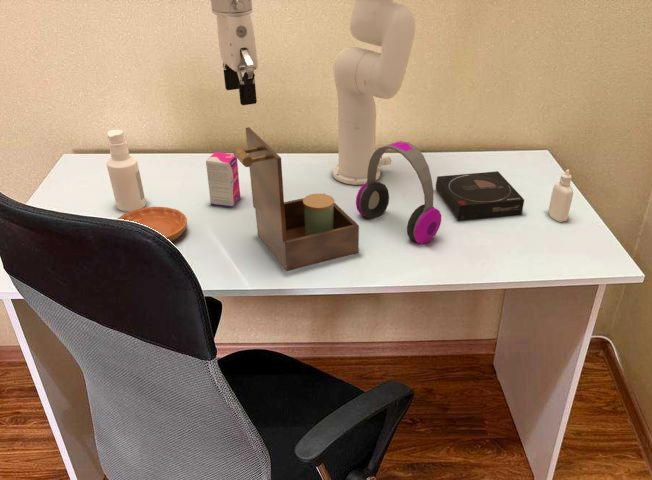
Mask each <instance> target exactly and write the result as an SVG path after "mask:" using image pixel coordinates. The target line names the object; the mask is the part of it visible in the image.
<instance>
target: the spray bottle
mask: <svg viewBox="0 0 652 480" xmlns="http://www.w3.org/2000/svg"><path fill="white" fill-rule="evenodd" d="M106 134H107V139H108V142H107V143H108V147H109V154H110V157H111V158H108V160H107V161H106V168H107V172H108V177H109V179H110V180H109V181H110V184H111V189H112V193H113V197H114V201H115V205H116V209H118V210H120V211H122V212H130V211H133V210H137V209H141V208H145V206H146V204H147V202H146V197H145V192H144V186H143V182H142V178H141V173H140V168H139V164H138V159H137V158H136V157H134V156H133V155H130V151H129V148H128V143H127V140H126V138H125V135H124V131H123V129H111V130H108V131H107V133H106Z"/></svg>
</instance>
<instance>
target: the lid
mask: <svg viewBox="0 0 652 480" xmlns="http://www.w3.org/2000/svg"><path fill="white" fill-rule="evenodd" d="M245 137H246V146H247V148H243V147H241V146H236V147H234V148H233V151H232V154H234V155H235V156H236V158H237V161H239V162H240V163H241V164H242V165H243V166H244V167H245V168H249V177H250V187H251V188H250V189H251V196H252V197H251V198H252V206H253V209H254V210H255V209H256V210H257V212H258V213H259V214H260V215H261V216H262V218H263V219H264V220H265V221H266V222H267V223H268V225H269V226H270V227H271V228H272V229H273V230H274V232H275V233H276V234H277V235H278V236H279V238H280V239H281V240H282V241H286V226H285V211H284V202H285V195H284V183H283V167H282V165H283V163H282V157H281V156H280V155H279V154H278V153H277V152H276V151H275V150H273V148H271V147H270V146H269V144H267V142H265V140H263V139H262V138H261V136H259V135H258V134H257V133H256V132H255V131H254V130H253V129H252V128H251V127H249V126H248V127H245Z"/></svg>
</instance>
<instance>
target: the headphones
mask: <svg viewBox="0 0 652 480" xmlns="http://www.w3.org/2000/svg"><path fill="white" fill-rule="evenodd" d="M387 150H392V151H393V150H394V151H395V152H397V153H399V154H400V155H402V156H403V158H405V160H407V161H408V163H409V164H410V165H411V167H412V168H413V170H414V171H415V174H416V175H417V178H418V180H419V182H420V184H421V188H422V191H423V197H424V204H421V205H420V206H418V207H416V209H414V211H413V212H412V213H411V215H410V217H409V219H408V222H407V225H406V235H407V237H408V238H409V239H410V241H413V242H414V241H415V242H416V243H417V244H422V245H424V244H428V243H429V242H430V241H432V240H433V239H434V237H435V236H436V235H437V233H438V231H439V230H440V227H441V223H442V213H441V211H440V210H439V209H438V208H436V207H435V206H434V186H433V178H432V175H431V170H430V166H429V164H428V162H427V160H426V158H425V156H424V154H423V153H422V152H421V150H420V149H419V148H418V147H417V146H415V145H414V144H412V143H410V142H409V141H402V140H399V141H396V142H392V143H389V144H386V145H383V146H381V147H378V148H377V150H376V149H375V152H374V153H373V155H372V157H371V159H370V162H369V166H368V174H367V182H366V183H365V184H361V186H360V188H359V189H358V192H357V195H356V198H355V206H356V211H357V212H358V213H359V214H360V215H361V216H363V217H365V218H367V219H369V220H371V219H376V218H379V217H381V216H382V215H383V214H384V213H385V212H386V210H387V208H388V207H389V206H388V205H389V203H390V193H389V189H388V187H387V185H386V184H384V183H382V182H381V181H377V180H376V173H377V166H378V164H379V161H380V158H381V157H382V158H383V155H384V154H385V153H386V151H387Z"/></svg>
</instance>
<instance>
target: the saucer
mask: <svg viewBox="0 0 652 480" xmlns="http://www.w3.org/2000/svg"><path fill="white" fill-rule="evenodd" d="M117 219H124V220H129V221H134V222H137V223H140V224H143V225H146V226H148V227H150V228H152V229H154V230H156V231H158V232H159V233H161V234H162V235H164V236H165V237H166V238H167V239H169V240H170V241H171V242H170V243H172V242H174V241H175V240H177V239H178V238H180V236H181V235H182V234H184V231H186V229H187V227H188V218H187V216H186V214H184V212H182V211H181V210H178V209H176V208H171V207H167V206H149V207H143V208H141V209H137V210H133V211H127V212H125V213H123V214H122V215H120V216H119V217H118V218H117Z"/></svg>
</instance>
